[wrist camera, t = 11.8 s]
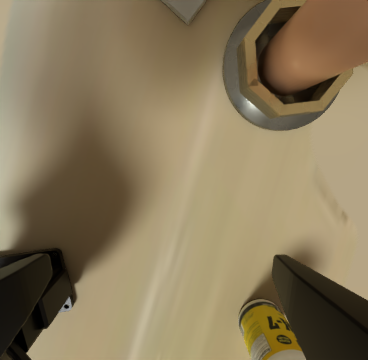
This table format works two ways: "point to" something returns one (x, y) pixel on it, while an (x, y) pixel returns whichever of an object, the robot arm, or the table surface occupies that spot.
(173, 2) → the tile
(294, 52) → the vase
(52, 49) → the table surface
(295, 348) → the supplement bottle
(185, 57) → the table surface
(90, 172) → the table surface
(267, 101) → the holder
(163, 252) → the table surface
